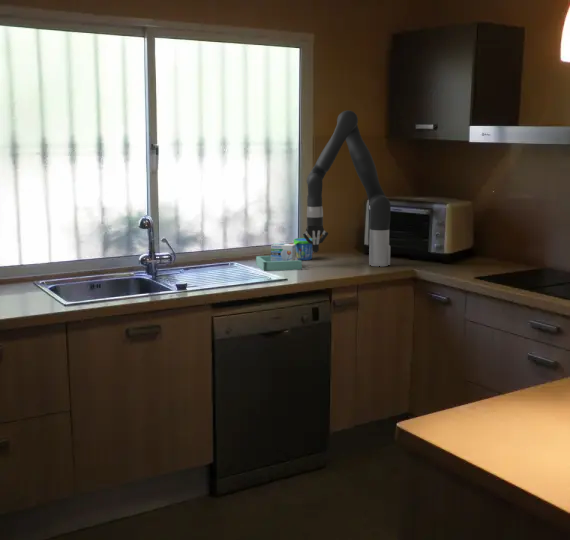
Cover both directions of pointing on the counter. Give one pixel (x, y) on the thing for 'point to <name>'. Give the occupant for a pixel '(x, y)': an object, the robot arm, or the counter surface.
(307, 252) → the snack cup
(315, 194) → the robot arm
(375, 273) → the counter surface
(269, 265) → the corral
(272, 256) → the light bulb box
